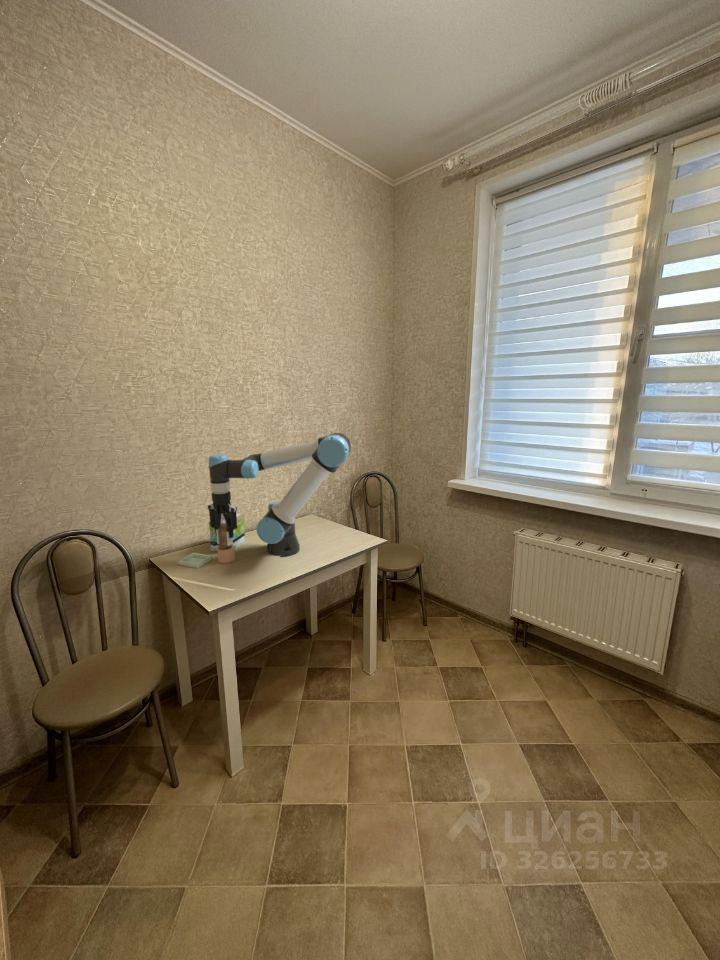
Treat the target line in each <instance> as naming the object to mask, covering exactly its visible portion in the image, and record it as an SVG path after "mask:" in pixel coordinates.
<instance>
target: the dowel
mask: <svg viewBox="0 0 720 960" xmlns="http://www.w3.org/2000/svg"><path fill="white" fill-rule="evenodd" d="M227 530H228V529H227V526H220V527H219V534H220V546H221V550H227V549H230V546H227V534H226V531H227Z"/></svg>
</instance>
